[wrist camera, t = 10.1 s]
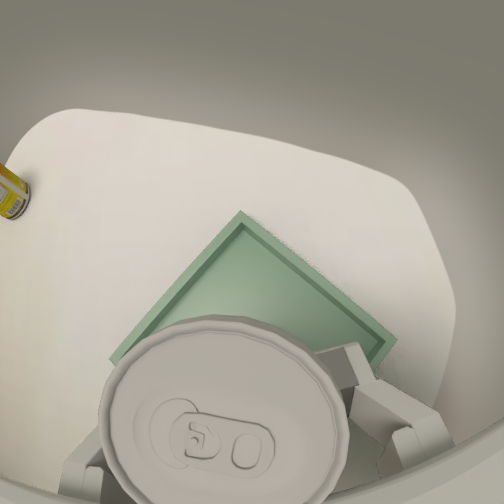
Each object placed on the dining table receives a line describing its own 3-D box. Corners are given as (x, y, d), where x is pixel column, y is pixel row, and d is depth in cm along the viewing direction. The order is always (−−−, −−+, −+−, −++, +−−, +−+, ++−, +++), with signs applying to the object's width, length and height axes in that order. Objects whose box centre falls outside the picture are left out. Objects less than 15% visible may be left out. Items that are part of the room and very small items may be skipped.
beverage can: (213, 318, 17) (112, 284, 5) (300, 334, 16) (382, 334, 5) (198, 400, 16) (87, 501, 4) (283, 416, 15) (319, 554, 4)
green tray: (386, 339, 26) (397, 339, 24) (261, 479, 23) (261, 490, 21) (242, 220, 30) (240, 210, 27) (120, 357, 27) (108, 358, 24)
